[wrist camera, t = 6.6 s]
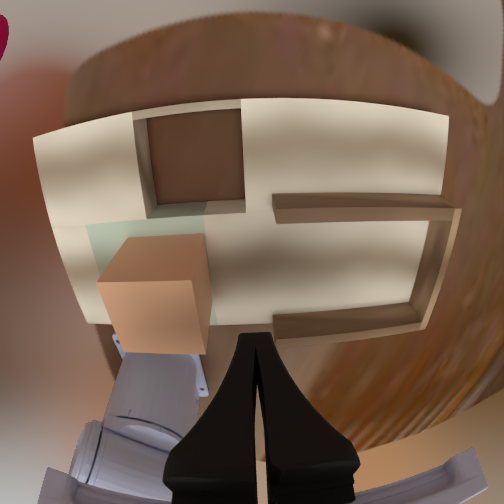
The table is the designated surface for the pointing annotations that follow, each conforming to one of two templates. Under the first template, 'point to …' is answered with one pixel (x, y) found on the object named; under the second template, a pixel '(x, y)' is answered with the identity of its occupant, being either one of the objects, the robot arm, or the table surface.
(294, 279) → the plate
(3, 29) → the pepper mill
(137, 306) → the cube
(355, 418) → the table surface
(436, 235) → the wooden frame
